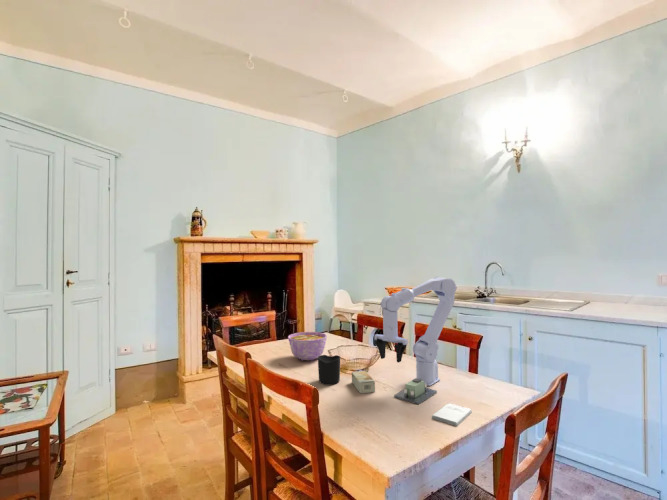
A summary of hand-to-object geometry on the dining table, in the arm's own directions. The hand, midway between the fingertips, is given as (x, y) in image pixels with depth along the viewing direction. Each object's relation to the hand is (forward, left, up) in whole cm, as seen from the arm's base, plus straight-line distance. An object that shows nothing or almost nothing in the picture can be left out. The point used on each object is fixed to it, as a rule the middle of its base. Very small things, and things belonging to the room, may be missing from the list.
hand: (390, 360), depth 144 cm
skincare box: (+12, -3, -8) cm, 15 cm away
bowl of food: (-5, -54, -11) cm, 55 cm away
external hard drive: (+9, +30, -11) cm, 33 cm away
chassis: (+2, +12, -10) cm, 16 cm away
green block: (+2, +12, -10) cm, 16 cm away
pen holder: (+12, -23, -11) cm, 28 cm away
